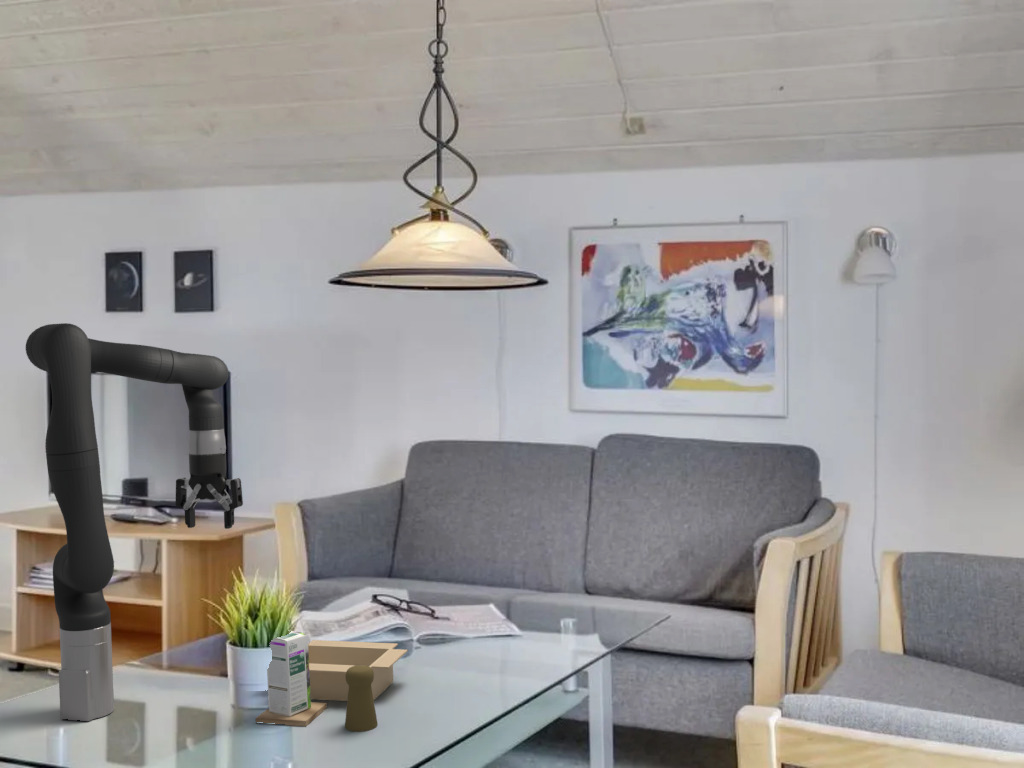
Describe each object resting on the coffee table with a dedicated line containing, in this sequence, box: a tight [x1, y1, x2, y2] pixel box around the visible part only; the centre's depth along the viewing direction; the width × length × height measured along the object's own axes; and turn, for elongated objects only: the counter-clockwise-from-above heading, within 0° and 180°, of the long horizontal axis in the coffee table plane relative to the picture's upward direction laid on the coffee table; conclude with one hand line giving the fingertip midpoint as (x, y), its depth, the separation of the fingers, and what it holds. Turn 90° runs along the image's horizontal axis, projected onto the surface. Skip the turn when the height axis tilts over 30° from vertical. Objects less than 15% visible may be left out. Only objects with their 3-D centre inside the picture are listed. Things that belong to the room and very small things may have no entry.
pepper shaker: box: [344, 665, 378, 733], centre depth 202 cm, size 6×6×11 cm
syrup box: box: [266, 630, 312, 717], centre depth 208 cm, size 6×6×14 cm
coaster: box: [255, 701, 328, 727], centre depth 208 cm, size 10×10×1 cm
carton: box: [308, 639, 409, 702], centre depth 223 cm, size 26×20×7 cm
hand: (209, 527), depth 231 cm, fingers open, 8 cm apart
